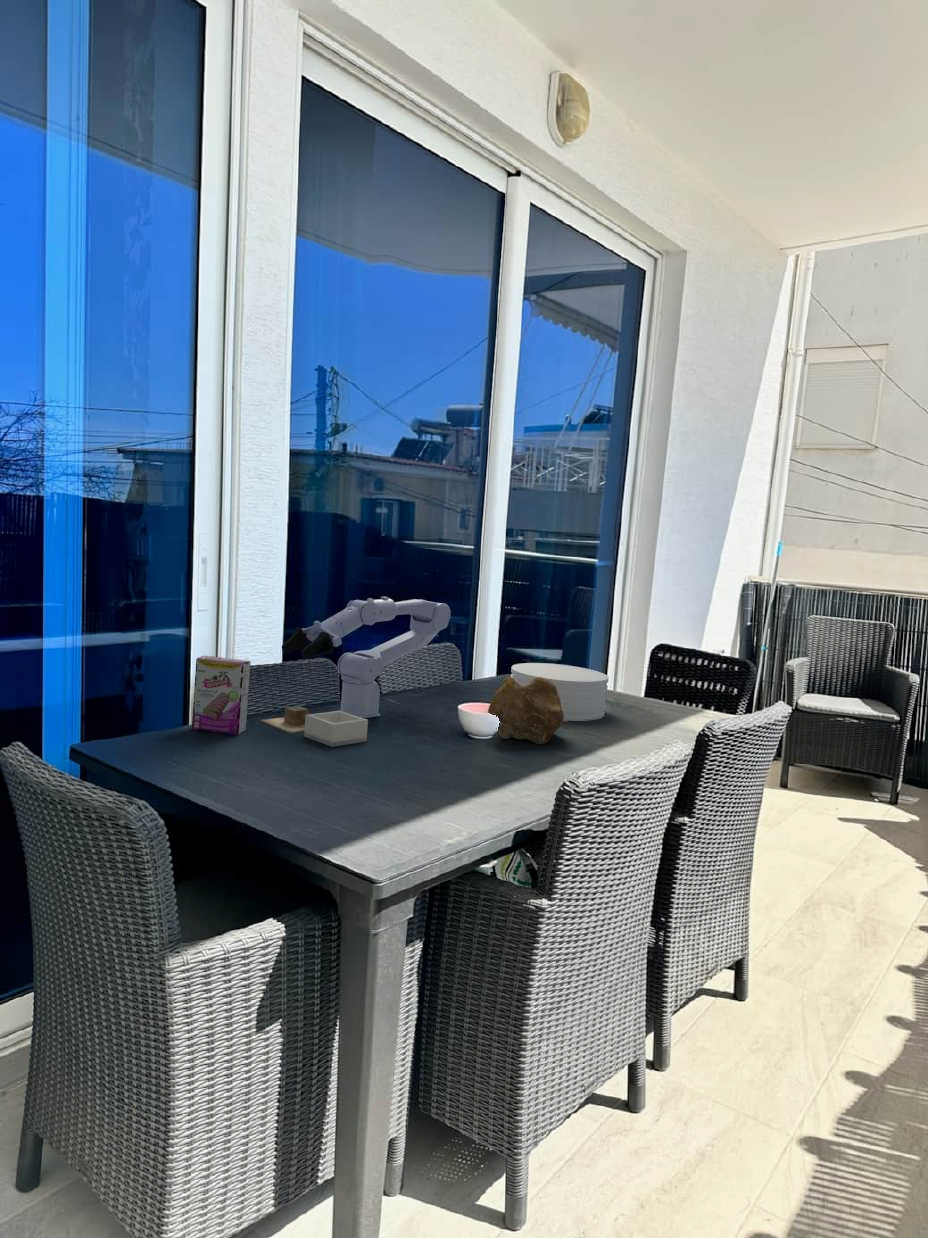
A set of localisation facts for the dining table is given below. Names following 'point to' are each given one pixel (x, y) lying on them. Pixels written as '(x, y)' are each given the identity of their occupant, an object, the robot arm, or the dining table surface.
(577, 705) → the grey short cylinder
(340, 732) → the dish
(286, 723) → the lid
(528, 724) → the rough brown rock
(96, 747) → the dining table surface
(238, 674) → the candy bar box
